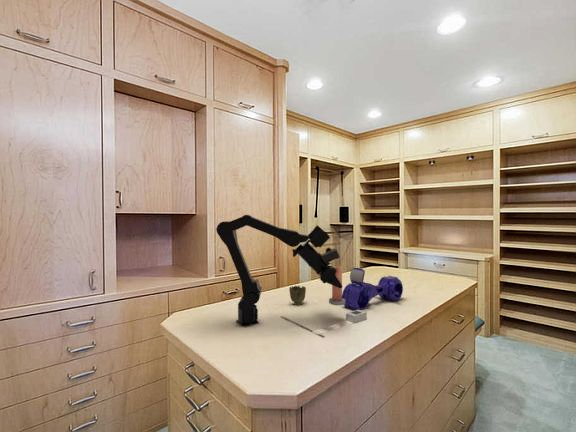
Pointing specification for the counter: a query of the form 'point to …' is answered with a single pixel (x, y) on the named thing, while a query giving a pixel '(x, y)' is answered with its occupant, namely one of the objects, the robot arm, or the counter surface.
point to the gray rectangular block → (356, 316)
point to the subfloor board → (323, 330)
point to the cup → (297, 294)
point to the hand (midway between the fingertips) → (340, 286)
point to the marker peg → (337, 290)
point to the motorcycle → (369, 290)
